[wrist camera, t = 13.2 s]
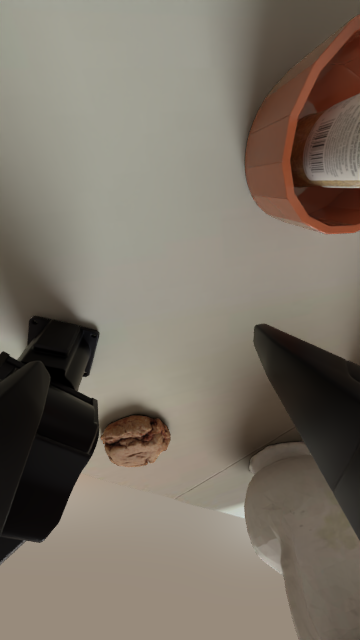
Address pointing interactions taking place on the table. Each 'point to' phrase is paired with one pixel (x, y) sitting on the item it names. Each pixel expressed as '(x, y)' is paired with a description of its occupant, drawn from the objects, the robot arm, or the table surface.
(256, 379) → the table surface
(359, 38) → the bowl
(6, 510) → the robot arm
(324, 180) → the sprinkles bottle
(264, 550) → the ceramic pitcher
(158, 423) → the cookie
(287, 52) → the table surface
